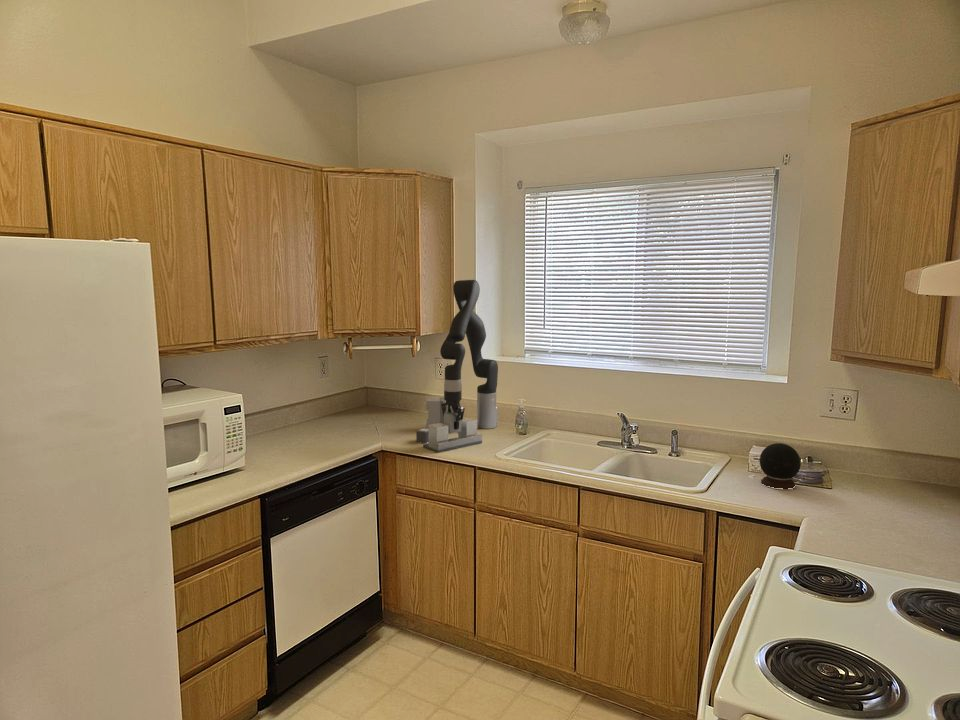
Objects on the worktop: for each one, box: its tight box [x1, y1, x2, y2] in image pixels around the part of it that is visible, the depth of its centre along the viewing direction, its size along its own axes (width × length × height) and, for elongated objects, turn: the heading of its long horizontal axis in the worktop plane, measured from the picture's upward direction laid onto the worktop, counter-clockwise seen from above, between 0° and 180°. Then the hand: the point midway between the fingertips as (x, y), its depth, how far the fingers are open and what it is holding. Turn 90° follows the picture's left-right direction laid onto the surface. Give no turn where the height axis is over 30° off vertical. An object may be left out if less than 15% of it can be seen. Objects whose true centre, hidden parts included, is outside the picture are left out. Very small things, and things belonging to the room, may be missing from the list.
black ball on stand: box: [759, 442, 802, 489], centre depth 220 cm, size 13×13×15 cm
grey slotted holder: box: [422, 417, 483, 454], centre depth 270 cm, size 24×11×10 cm, turn 130°
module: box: [444, 412, 461, 434], centre depth 269 cm, size 6×4×9 cm
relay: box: [415, 428, 429, 444], centre depth 276 cm, size 5×5×5 cm
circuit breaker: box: [425, 397, 446, 429], centre depth 295 cm, size 8×14×15 cm, turn 89°
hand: (452, 428), depth 270 cm, fingers closed on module, 4 cm apart
